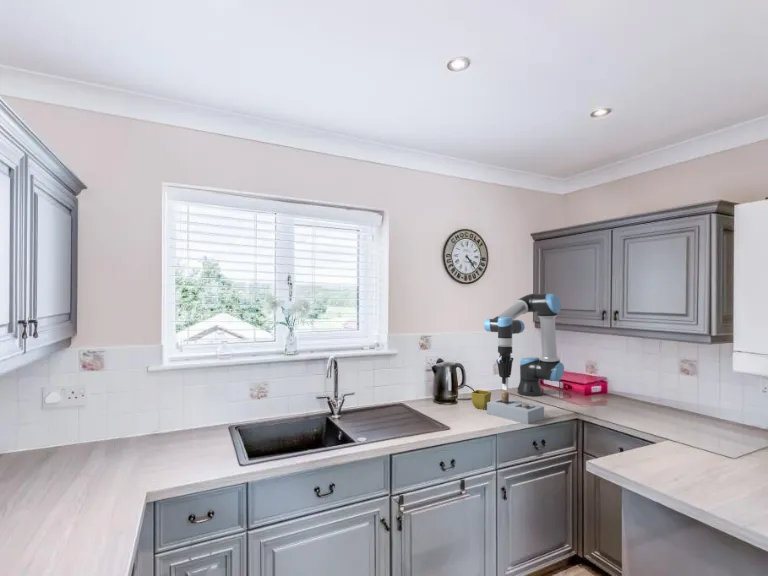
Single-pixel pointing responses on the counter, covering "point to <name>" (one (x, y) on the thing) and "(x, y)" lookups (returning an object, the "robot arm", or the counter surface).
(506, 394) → the peg brass cap
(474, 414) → the counter surface
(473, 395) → the flower pot
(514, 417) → the socket block
